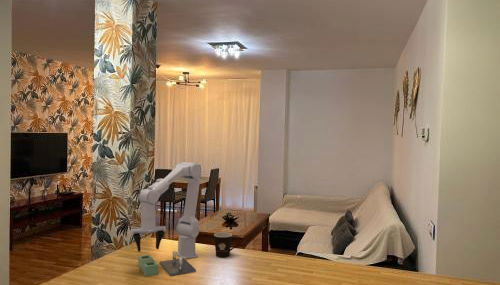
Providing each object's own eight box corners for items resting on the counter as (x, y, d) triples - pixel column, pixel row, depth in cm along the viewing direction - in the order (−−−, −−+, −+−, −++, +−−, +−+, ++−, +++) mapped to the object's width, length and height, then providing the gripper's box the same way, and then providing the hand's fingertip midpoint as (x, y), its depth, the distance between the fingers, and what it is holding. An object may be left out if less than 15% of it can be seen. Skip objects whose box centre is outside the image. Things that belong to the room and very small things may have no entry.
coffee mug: (210, 256, 184) (210, 235, 184) (219, 251, 192) (220, 231, 192) (231, 261, 179) (231, 239, 178) (240, 255, 187) (241, 234, 186)
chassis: (159, 263, 174) (159, 251, 174) (183, 260, 179) (183, 248, 179) (170, 276, 160) (170, 262, 159) (195, 271, 165) (196, 258, 165)
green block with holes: (138, 265, 171) (138, 256, 171) (149, 263, 174) (149, 254, 173) (145, 276, 159) (145, 266, 159) (157, 274, 161) (157, 264, 161)
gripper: (132, 221, 158) (132, 255, 159) (168, 218, 165) (167, 250, 166) (129, 217, 164) (129, 250, 165) (163, 214, 171) (163, 245, 172)
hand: (148, 249), depth 166 cm, fingers open, 7 cm apart
